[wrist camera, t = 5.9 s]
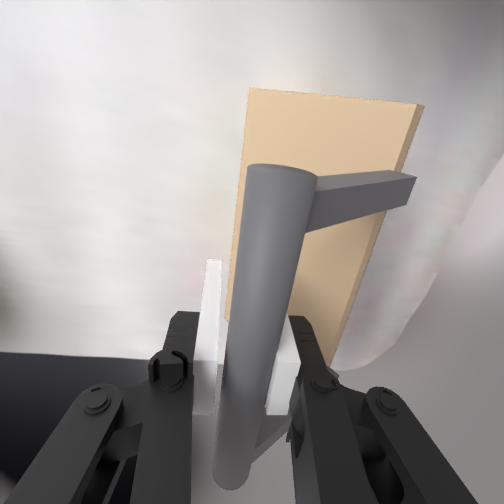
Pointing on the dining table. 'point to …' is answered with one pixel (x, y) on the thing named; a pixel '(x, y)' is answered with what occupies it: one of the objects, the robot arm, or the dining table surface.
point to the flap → (300, 242)
